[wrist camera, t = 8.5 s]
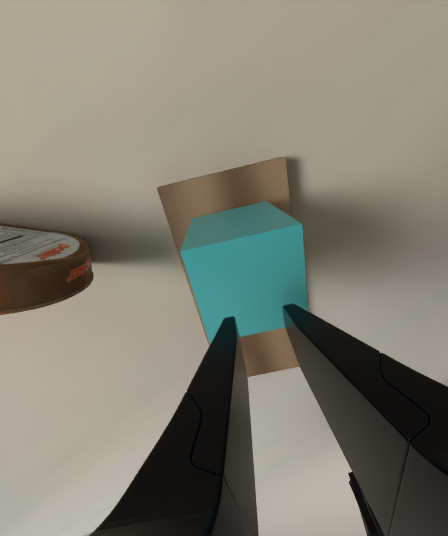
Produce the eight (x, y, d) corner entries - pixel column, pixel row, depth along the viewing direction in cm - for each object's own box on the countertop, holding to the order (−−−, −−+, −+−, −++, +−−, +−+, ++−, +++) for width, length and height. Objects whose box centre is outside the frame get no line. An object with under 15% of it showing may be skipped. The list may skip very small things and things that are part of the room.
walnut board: (280, 157, 16) (285, 156, 15) (300, 356, 24) (305, 365, 23) (160, 186, 17) (156, 188, 15) (220, 372, 25) (221, 382, 24)
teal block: (266, 201, 15) (302, 223, 9) (275, 268, 17) (309, 322, 11) (192, 218, 15) (180, 251, 9) (210, 282, 18) (209, 343, 12)
